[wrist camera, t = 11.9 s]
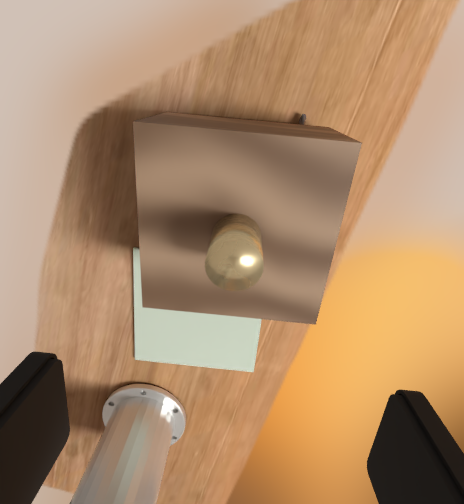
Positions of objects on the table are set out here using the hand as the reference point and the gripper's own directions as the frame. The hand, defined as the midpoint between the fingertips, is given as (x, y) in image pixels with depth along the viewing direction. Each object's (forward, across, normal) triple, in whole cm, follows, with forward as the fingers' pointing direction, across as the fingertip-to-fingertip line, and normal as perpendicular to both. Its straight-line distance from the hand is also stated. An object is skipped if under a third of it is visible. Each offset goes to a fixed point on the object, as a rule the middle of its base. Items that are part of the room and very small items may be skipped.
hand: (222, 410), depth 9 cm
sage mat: (+30, +4, +16) cm, 34 cm away
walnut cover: (+29, 0, 0) cm, 29 cm away
